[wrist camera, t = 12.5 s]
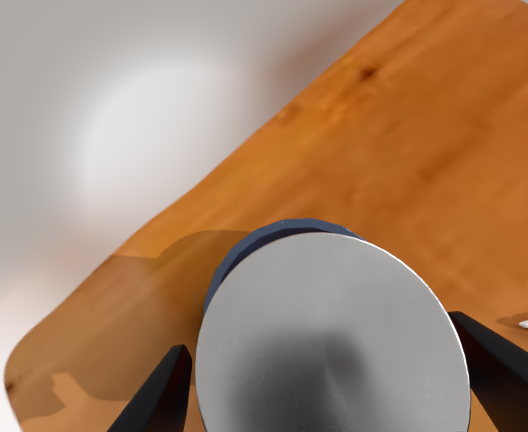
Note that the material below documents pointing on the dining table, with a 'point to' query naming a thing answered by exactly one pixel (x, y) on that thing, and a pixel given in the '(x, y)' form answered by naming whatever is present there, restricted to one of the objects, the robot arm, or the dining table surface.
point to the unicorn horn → (524, 324)
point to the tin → (329, 344)
